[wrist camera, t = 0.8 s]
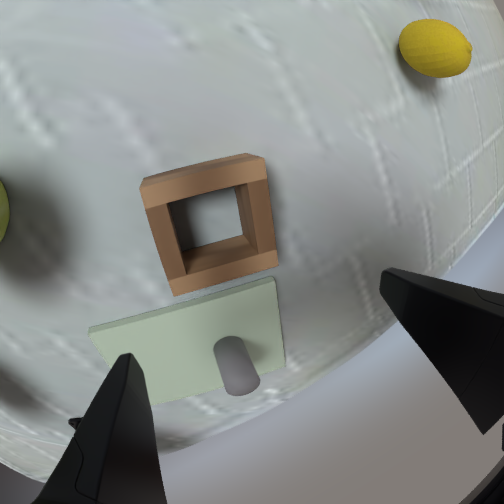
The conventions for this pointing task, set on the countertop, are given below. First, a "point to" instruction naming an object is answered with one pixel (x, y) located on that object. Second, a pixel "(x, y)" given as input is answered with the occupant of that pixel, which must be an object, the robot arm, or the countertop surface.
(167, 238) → the link
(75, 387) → the countertop surface
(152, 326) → the keeper board
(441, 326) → the robot arm
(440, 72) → the lemon
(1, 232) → the plant pot
